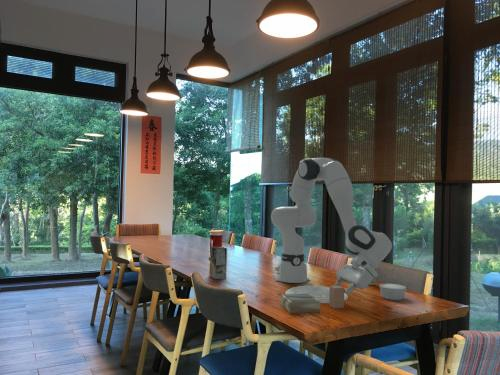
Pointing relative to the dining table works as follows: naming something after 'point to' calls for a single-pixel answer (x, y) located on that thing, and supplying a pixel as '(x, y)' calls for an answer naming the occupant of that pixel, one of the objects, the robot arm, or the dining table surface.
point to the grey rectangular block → (336, 296)
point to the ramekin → (392, 291)
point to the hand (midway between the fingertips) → (340, 290)
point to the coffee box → (218, 262)
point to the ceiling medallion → (314, 292)
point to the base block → (300, 303)
